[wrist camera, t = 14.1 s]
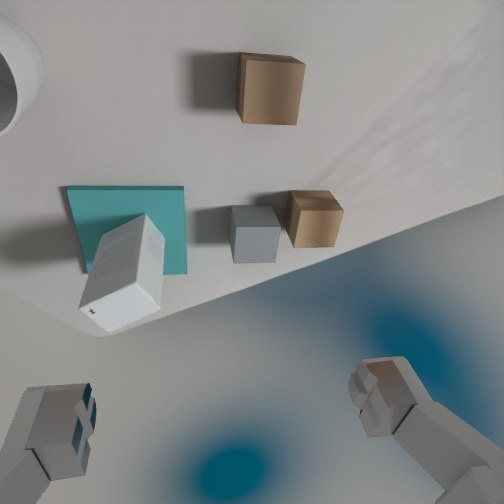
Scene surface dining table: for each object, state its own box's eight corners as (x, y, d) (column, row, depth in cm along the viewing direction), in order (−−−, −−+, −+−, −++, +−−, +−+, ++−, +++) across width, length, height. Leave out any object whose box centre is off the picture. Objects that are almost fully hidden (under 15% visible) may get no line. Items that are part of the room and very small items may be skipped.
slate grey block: (229, 239, 44) (233, 263, 40) (231, 205, 41) (236, 227, 37) (266, 238, 45) (275, 262, 41) (271, 205, 42) (281, 226, 38)
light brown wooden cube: (283, 225, 44) (294, 248, 40) (289, 190, 41) (301, 210, 37) (320, 225, 45) (333, 247, 41) (328, 190, 42) (344, 210, 38)
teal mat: (91, 272, 43) (89, 277, 43) (68, 185, 36) (66, 190, 36) (187, 269, 45) (187, 273, 45) (183, 186, 38) (183, 190, 38)
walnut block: (235, 108, 35) (242, 123, 31) (238, 52, 32) (246, 60, 28) (283, 111, 35) (296, 125, 31) (290, 56, 32) (305, 64, 29)
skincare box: (124, 259, 42) (107, 335, 32) (101, 234, 39) (74, 309, 30) (167, 238, 41) (162, 310, 31) (146, 211, 38) (134, 280, 29)
